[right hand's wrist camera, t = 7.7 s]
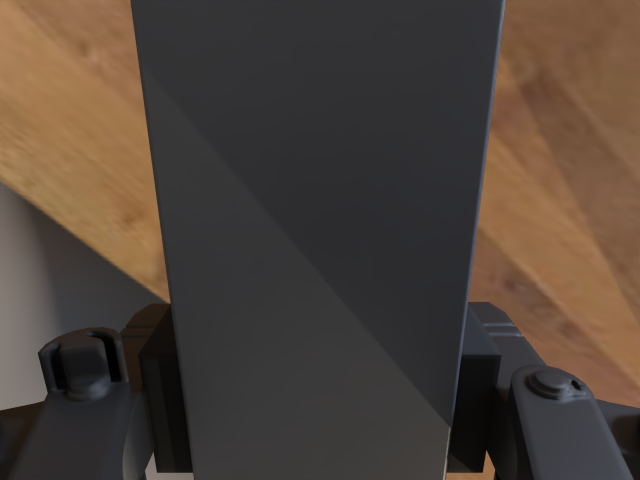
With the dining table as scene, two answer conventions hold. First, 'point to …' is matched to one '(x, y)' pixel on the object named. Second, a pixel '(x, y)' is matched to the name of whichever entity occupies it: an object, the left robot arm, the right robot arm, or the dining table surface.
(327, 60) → the beam
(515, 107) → the dining table surface
